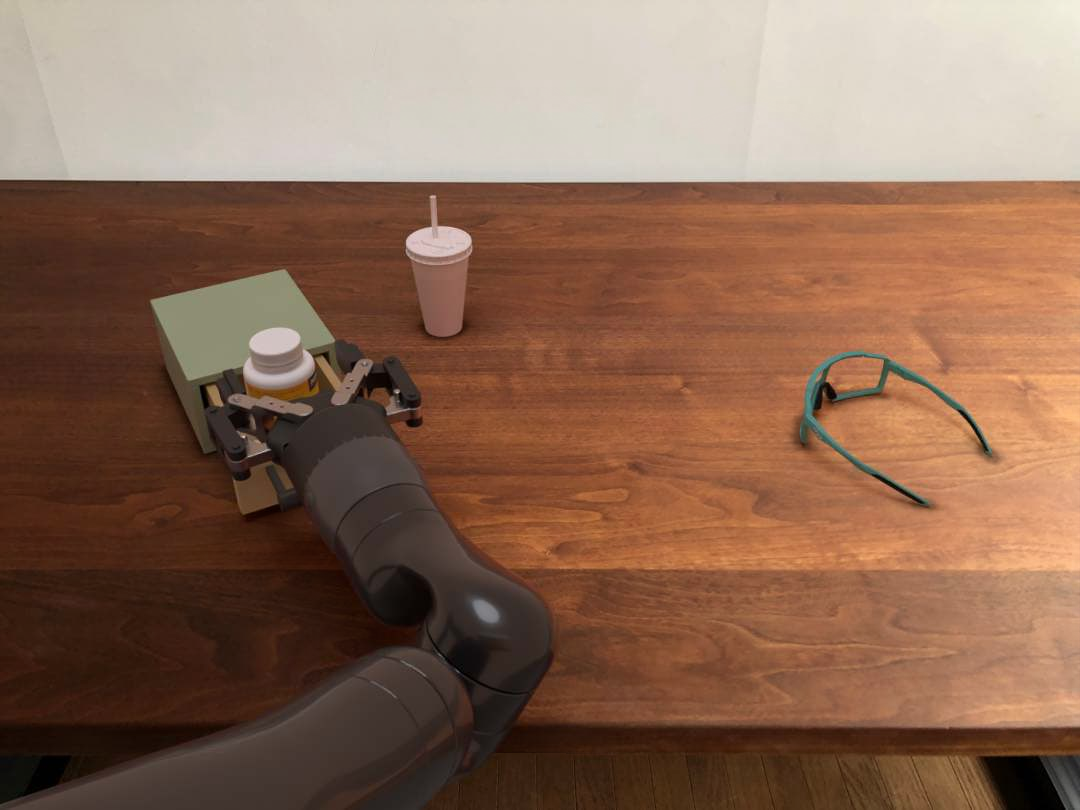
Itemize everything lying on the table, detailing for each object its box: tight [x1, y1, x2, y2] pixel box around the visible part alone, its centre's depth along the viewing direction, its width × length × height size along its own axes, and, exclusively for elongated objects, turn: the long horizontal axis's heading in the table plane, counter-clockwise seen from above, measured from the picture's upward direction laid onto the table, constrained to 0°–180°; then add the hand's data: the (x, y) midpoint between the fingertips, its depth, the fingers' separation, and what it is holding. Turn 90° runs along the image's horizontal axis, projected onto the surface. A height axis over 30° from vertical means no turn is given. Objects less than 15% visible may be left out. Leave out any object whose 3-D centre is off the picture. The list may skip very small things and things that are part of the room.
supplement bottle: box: [243, 328, 319, 440], centre depth 84 cm, size 6×6×10 cm
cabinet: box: [149, 268, 343, 455], centre depth 95 cm, size 15×13×8 cm
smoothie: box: [405, 194, 473, 338], centre depth 102 cm, size 6×6×14 cm
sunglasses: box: [799, 350, 994, 507], centre depth 90 cm, size 14×15×5 cm
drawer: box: [200, 353, 342, 515], centre depth 85 cm, size 18×11×6 cm, turn 28°
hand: (285, 364), depth 79 cm, fingers open, 8 cm apart
